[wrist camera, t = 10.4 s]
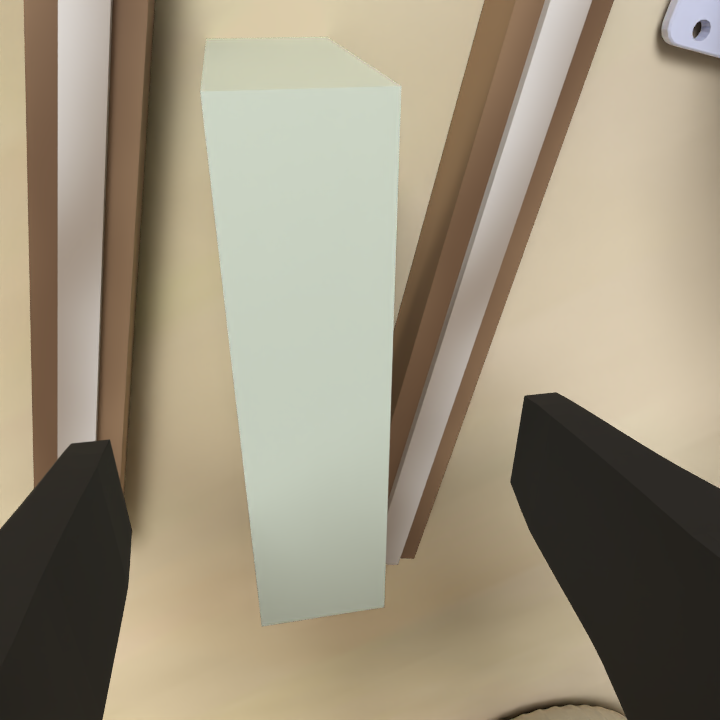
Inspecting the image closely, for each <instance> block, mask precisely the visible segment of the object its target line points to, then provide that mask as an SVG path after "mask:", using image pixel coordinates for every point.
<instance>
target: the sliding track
mask: <svg viewBox="0 0 720 720" xmlns="http://www.w3.org/2000/svg"><path fill="white" fill-rule="evenodd" d="M613 1H614V0H485V1H484V5H483V9H482V12H481V16H480V20H479V23H478V27H477V30H476V34H475V38H474V41H473V45H472V49H471V52H470V56H469V60H468V63H467V67H466V70H465V74H464V78H463V81H462V85H461V89H460V92H459V96H458V100H457V103H456V107H455V110H454V114H453V118H452V121H451V125H450V129H449V132H448V136H447V139H446V143H445V147H444V150H443V154H442V158H441V161H440V165H439V169H438V172H437V176H436V179H435V183H434V187H433V190H432V194H431V198H430V201H429V205H428V209H427V212H426V216H425V219H424V223H423V227H422V230H421V234H420V238H419V241H418V245H417V249H416V252H415V256H414V259H413V263H412V267H411V270H410V274H409V278H408V281H407V285H406V289H405V292H404V296H403V299H402V303H401V307H400V310H399V314H398V318H397V321H396V325H395V329H394V332H393V355H392V386H391V416H390V447H389V477H388V508H387V538H386V564H390V565H398V563H399V560H400V558H411V559H414V557H415V554H416V552H417V549H418V546H419V543H420V540H421V538H422V535H423V532H424V529H425V527H426V524H427V521H428V518H429V515H430V513H431V510H432V507H433V504H434V501H435V499H436V496H437V493H438V490H439V487H440V485H441V482H442V479H443V476H444V473H445V471H446V468H447V465H448V462H449V459H450V457H451V454H452V451H453V448H454V446H455V443H456V440H457V437H458V434H459V432H460V429H461V426H462V423H463V420H464V418H465V415H466V412H467V409H468V406H469V404H470V401H471V398H472V395H473V392H474V390H475V387H476V384H477V381H478V378H479V376H480V373H481V370H482V367H483V365H484V362H485V359H486V356H487V353H488V351H489V348H490V345H491V342H492V339H493V337H494V334H495V331H496V328H497V325H498V323H499V320H500V317H501V314H502V311H503V309H504V306H505V303H506V300H507V297H508V295H509V292H510V289H511V286H512V284H513V281H514V278H515V275H516V272H517V270H518V267H519V264H520V261H521V258H522V256H523V253H524V250H525V247H526V244H527V242H528V239H529V236H530V233H531V230H532V228H533V225H534V222H535V219H536V216H537V214H538V211H539V208H540V205H541V202H542V200H543V197H544V194H545V191H546V189H547V186H548V183H549V180H550V177H551V175H552V172H553V169H554V166H555V163H556V161H557V158H558V155H559V152H560V149H561V147H562V144H563V141H564V138H565V135H566V133H567V130H568V127H569V124H570V121H571V119H572V116H573V113H574V110H575V108H576V105H577V102H578V99H579V96H580V94H581V91H582V88H583V85H584V82H585V80H586V77H587V74H588V71H589V68H590V66H591V63H592V60H593V57H594V54H595V52H596V49H597V46H598V43H599V40H600V38H601V35H602V32H603V29H604V27H605V24H606V21H607V18H608V15H609V13H610V10H611V7H612V4H613ZM154 12H155V0H24V36H25V83H26V131H27V178H28V226H29V273H30V320H31V368H32V415H33V462H34V488H35V487H36V486H37V484H38V483H39V482H40V481H41V479H42V478H43V477H44V476H45V474H46V473H47V472H48V471H49V469H50V468H51V467H52V466H53V464H54V463H55V462H56V461H57V459H58V458H59V457H60V456H61V454H62V453H63V452H64V451H65V450H66V448H67V447H68V446H69V445H70V444H71V443H80V442H90V441H99V440H109V439H110V441H111V446H112V450H113V454H114V458H115V462H116V466H117V471H118V475H119V479H120V483H121V487H122V491H123V496H124V485H125V470H126V454H127V438H128V422H129V406H130V391H131V375H132V359H133V343H134V327H135V312H136V296H137V280H138V264H139V249H140V233H141V217H142V201H143V185H144V170H145V154H146V138H147V122H148V107H149V91H150V75H151V59H152V43H153V28H154Z"/></svg>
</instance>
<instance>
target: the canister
mask: <svg viewBox="0 0 720 720" xmlns="http://www.w3.org/2000/svg"><path fill="white" fill-rule="evenodd" d="M509 720H627V718H626V717H625V716H623V715H622V714H620V713H618V712H616V711H613V710H609V709H605V708H603V707H599V706H593V707H591V706H589V705H585V704H584V705H578V706H574V705H571V704H570V705H565V706H562V707H557V706H553V707H550V708H548V709H544V710H541V709H538V710H535V711H534V712H531V713H528V714H521V715H519V716H518V717H516V718H514V719H509Z"/></svg>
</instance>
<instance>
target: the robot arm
mask: <svg viewBox="0 0 720 720" xmlns="http://www.w3.org/2000/svg"><path fill="white" fill-rule="evenodd" d="M699 21H701V25H702V27H701V31H700V33H699V35H698V36H697V37H696V38H694V39H693V35H692V32H693V28H694V26H695V25H696V23H697V22H699ZM661 32H662V37H663V39H664V41H665V42H666V43H668V44H670V45H672V46H676V47H680V48H683V49H687V50H691V51H695V52H698V53H702V54H706V55H709V56H713V57H717V58H720V0H671V2H670V5H669V7H668V10H667V12H666V15H665V17H664V20H663V23H662V28H661ZM511 485H512V487H513V490H514V493H515V495H516V498H517V501H518V503H519V506H520V509H521V511H522V513H523V516H524V518H525V521H526V523H527V526H528V528H529V530H530V532H531V534H532V536H533V538H534V540H535V541H536V543H537V545H538V547H539V549H540V550H541V552H542V554H543V556H544V558H545V559H546V561H547V563H548V565H549V567H550V568H551V570H552V572H553V574H554V576H555V577H556V579H557V581H558V583H559V584H560V586H561V588H562V590H563V591H564V593H565V595H566V597H567V598H568V600H569V602H570V604H571V605H572V607H573V609H574V611H575V613H576V614H577V616H578V618H579V620H580V621H581V623H582V625H583V627H584V628H585V630H586V632H587V634H588V635H589V637H590V639H591V641H592V643H593V645H594V647H595V649H596V651H597V653H598V655H599V657H600V659H601V661H602V663H603V665H604V667H605V670H606V672H607V674H608V677H609V679H610V681H611V683H612V686H613V688H614V690H615V692H616V695H617V697H618V699H619V701H620V704H621V706H622V708H623V711H624V713H625V715H626V718H627V720H720V488H718V487H716V486H714V485H712V484H710V483H708V482H707V481H705V480H703V479H701V478H699V477H697V476H696V475H694V474H692V473H690V472H688V471H686V470H685V469H683V468H681V467H679V466H678V465H676V464H674V463H672V462H671V461H669V460H667V459H665V458H664V457H662V456H660V455H659V454H657V453H655V452H654V451H652V450H650V449H649V448H647V447H645V446H644V445H642V444H640V443H639V442H637V441H635V440H634V439H632V438H631V437H629V436H627V435H626V434H624V433H623V432H621V431H619V430H618V429H616V428H615V427H613V426H611V425H610V424H608V423H607V422H605V421H603V420H602V419H600V418H599V417H597V416H595V415H594V414H592V413H591V412H589V411H587V410H586V409H584V408H582V407H581V406H579V405H577V404H576V403H574V402H572V401H571V400H569V399H567V398H565V397H564V396H562V395H560V394H558V393H546V394H537V395H527V396H524V402H523V408H522V414H521V420H520V426H519V433H518V439H517V445H516V451H515V457H514V463H513V469H512V475H511ZM131 536H132V529H131V525H130V520H129V516H128V512H127V508H126V504H125V500H124V496H123V491H122V487H121V483H120V479H119V475H118V471H117V466H116V462H115V458H114V454H113V450H112V446H111V441H110V439H109V440H99V441H90V442H80V443H71V444H70V445H69V446H68V447H67V448H66V450H65V451H64V452H63V453H62V454H61V456H60V457H59V458H58V459H57V461H56V462H55V463H54V464H53V466H52V467H51V468H50V469H49V471H48V472H47V473H46V474H45V476H44V477H43V478H42V479H41V481H40V482H39V483H38V484H37V486H36V487H35V488H34V489H33V491H32V492H31V493H30V494H29V495H28V497H27V498H26V499H25V500H24V502H23V503H22V504H21V505H20V506H19V508H18V509H17V510H16V511H15V512H14V514H13V515H12V516H11V517H10V518H9V519H8V521H7V522H6V523H5V524H4V525H3V526H2V528H1V529H0V720H102V719H103V714H104V709H105V704H106V699H107V693H108V688H109V683H110V678H111V673H112V668H113V663H114V658H115V653H116V648H117V643H118V638H119V632H120V627H121V622H122V617H123V611H124V606H125V601H126V595H127V590H128V582H129V568H130V553H131Z"/></svg>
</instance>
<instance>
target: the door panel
mask: <svg viewBox="0 0 720 720" xmlns="http://www.w3.org/2000/svg"><path fill="white" fill-rule="evenodd" d="M200 94H201V102H202V111H203V120H204V128H205V137H206V146H207V154H208V163H209V172H210V180H211V189H212V198H213V207H214V215H215V224H216V233H217V241H218V250H219V259H220V267H221V276H222V285H223V293H224V302H225V311H226V320H227V328H228V337H229V346H230V354H231V363H232V372H233V380H234V389H235V398H236V406H237V415H238V424H239V433H240V441H241V450H242V459H243V467H244V476H245V485H246V493H247V502H248V511H249V519H250V528H251V537H252V546H253V554H254V563H255V572H256V580H257V589H258V598H259V606H260V615H261V624H262V626H268V625H275V624H281V623H287V622H294V621H300V620H306V619H313V618H319V617H325V616H332V615H338V614H344V613H351V612H357V611H363V610H370V609H376V608H383V607H384V599H385V569H386V538H387V508H388V477H389V447H390V416H391V386H392V355H393V325H394V294H395V264H396V233H397V203H398V172H399V142H400V111H401V85H399V84H398V83H396V82H394V81H393V80H391V79H390V78H388V77H387V76H385V75H384V74H382V73H381V72H379V71H378V70H376V69H375V68H373V67H372V66H370V65H369V64H367V63H366V62H364V61H363V60H361V59H360V58H358V57H357V56H355V55H354V54H352V53H351V52H349V51H348V50H346V49H345V48H343V47H342V46H340V45H339V44H337V43H336V42H334V41H333V40H331V39H329V38H328V37H282V38H216V39H206V46H205V55H204V63H203V72H202V81H201V90H200Z"/></svg>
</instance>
